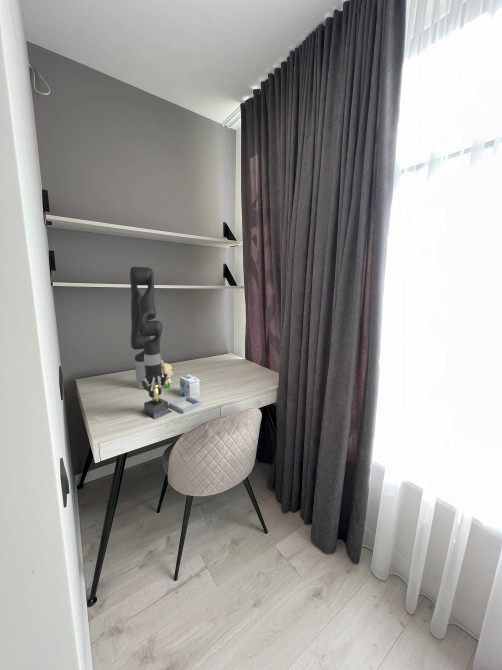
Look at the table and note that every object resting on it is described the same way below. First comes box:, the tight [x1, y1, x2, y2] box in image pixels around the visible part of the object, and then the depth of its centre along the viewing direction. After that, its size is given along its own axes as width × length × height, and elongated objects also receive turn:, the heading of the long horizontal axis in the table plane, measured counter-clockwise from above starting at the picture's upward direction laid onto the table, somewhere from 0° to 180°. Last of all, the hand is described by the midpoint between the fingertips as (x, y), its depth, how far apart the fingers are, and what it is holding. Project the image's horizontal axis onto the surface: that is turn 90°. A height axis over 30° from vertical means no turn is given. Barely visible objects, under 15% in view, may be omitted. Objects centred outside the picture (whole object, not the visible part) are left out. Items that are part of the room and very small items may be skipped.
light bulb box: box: [179, 374, 201, 399], centre depth 154 cm, size 11×7×11 cm, turn 45°
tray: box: [168, 396, 202, 415], centre depth 140 cm, size 12×12×3 cm
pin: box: [151, 383, 160, 405], centre depth 132 cm, size 4×4×11 cm
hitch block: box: [141, 397, 173, 421], centre depth 133 cm, size 12×10×6 cm
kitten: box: [160, 359, 174, 389], centre depth 169 cm, size 15×10×15 cm
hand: (155, 395), depth 132 cm, fingers closed on pin, 3 cm apart
